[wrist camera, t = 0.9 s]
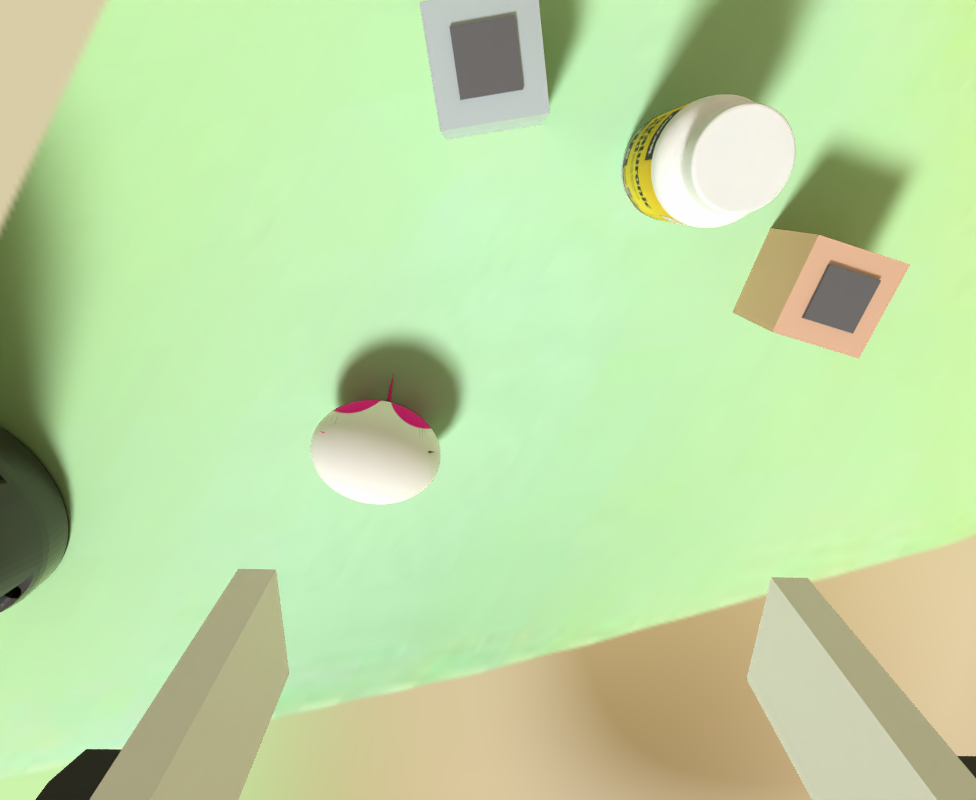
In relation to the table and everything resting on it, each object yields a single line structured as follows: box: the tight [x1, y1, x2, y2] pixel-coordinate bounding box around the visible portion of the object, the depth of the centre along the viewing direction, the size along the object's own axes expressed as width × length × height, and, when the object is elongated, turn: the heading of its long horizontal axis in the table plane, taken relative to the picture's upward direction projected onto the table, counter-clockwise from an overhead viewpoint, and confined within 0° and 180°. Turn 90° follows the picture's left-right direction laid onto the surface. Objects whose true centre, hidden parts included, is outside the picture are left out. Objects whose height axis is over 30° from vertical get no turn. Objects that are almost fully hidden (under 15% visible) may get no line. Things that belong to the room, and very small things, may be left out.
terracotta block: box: [733, 228, 910, 358], centre depth 31 cm, size 5×5×5 cm
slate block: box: [420, 0, 550, 140], centre depth 27 cm, size 5×5×5 cm
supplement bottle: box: [621, 94, 796, 228], centre depth 26 cm, size 5×5×10 cm
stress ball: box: [311, 374, 440, 504], centre depth 34 cm, size 8×8×7 cm
